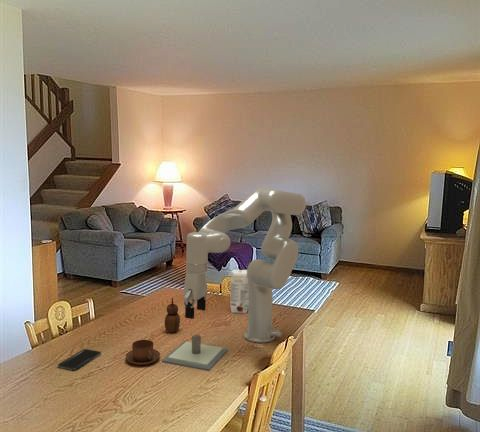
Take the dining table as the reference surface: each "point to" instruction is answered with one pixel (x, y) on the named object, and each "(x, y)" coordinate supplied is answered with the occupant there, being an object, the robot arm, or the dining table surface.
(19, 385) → the dining table surface
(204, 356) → the cover board
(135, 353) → the cup and saucer
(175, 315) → the wooden figurine
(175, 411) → the dining table surface
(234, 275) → the juice carton
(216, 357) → the rubber mat
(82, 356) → the phone
